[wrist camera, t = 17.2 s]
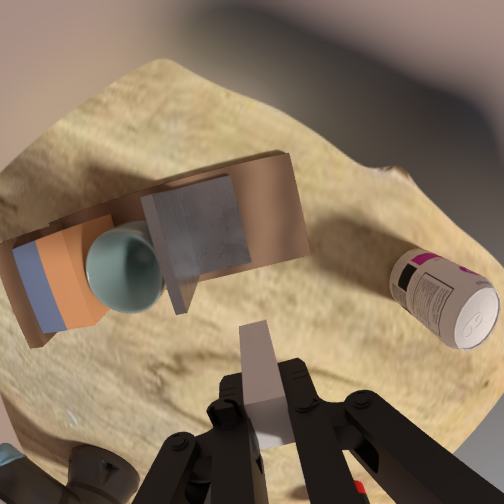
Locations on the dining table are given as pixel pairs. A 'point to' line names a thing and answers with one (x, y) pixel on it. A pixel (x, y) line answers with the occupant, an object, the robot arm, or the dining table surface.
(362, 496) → the soda can
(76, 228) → the book terracotta
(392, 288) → the supplement can
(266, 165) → the shelf
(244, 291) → the dining table surface
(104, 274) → the cup
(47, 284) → the book navy
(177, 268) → the bookend
